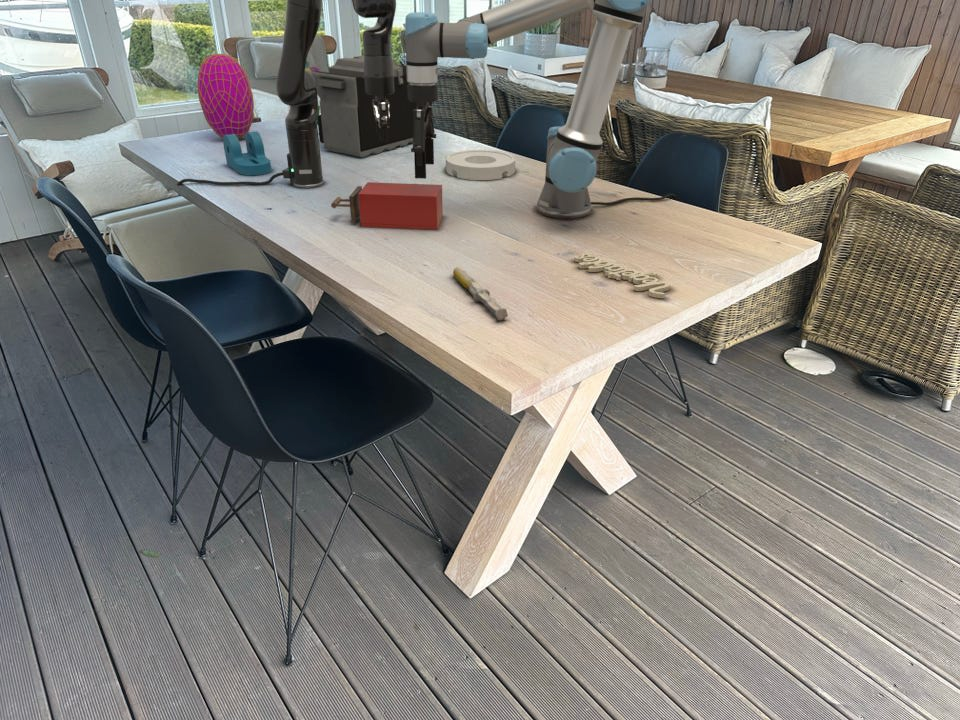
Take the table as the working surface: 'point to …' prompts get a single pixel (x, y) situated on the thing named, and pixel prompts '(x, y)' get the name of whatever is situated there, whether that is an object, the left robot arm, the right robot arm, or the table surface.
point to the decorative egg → (225, 95)
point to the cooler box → (360, 110)
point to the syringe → (479, 293)
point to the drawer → (353, 204)
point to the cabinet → (401, 205)
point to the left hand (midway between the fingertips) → (382, 138)
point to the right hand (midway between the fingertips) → (424, 170)
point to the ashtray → (480, 164)
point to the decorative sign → (625, 274)
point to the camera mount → (246, 154)
